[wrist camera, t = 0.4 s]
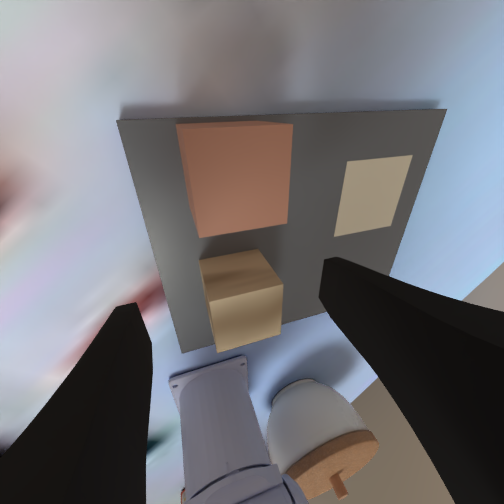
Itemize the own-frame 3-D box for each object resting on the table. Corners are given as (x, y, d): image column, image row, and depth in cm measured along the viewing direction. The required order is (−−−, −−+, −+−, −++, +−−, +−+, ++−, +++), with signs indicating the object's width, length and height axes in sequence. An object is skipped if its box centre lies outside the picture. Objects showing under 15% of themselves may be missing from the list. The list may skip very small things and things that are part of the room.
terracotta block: (257, 197, 16) (287, 223, 12) (189, 206, 15) (199, 238, 11) (256, 120, 13) (293, 124, 10) (175, 123, 12) (181, 129, 9)
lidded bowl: (285, 362, 29) (342, 476, 20) (348, 367, 35) (412, 455, 26) (237, 424, 33) (267, 542, 24) (301, 418, 39) (344, 511, 30)
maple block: (258, 293, 20) (280, 334, 17) (206, 306, 19) (217, 353, 15) (258, 248, 18) (283, 284, 14) (198, 260, 17) (209, 301, 13)
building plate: (375, 290, 27) (381, 295, 26) (181, 344, 22) (182, 353, 21) (434, 109, 18) (447, 109, 17) (118, 119, 12) (115, 120, 11)
